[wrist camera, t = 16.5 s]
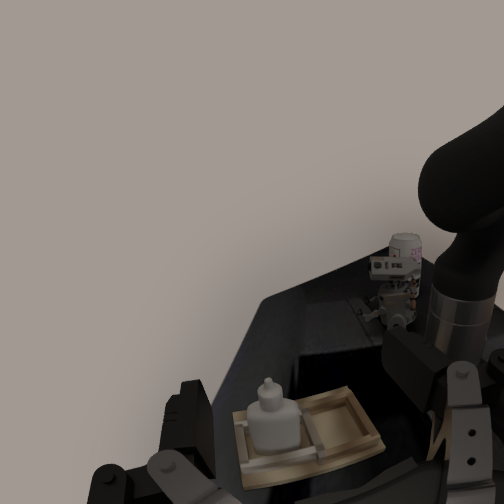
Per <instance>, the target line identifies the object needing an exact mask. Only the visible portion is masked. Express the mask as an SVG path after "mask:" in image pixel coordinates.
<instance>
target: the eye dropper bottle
mask: <svg viewBox="0 0 504 504" xmlns="http://www.w3.org/2000/svg"><path fill="white" fill-rule="evenodd" d="M257 392H258V398H259V401H256V402H254V403H252V404H251V405H249V406H248V408H247V423H248V427H249V431H250V435H251V439H252V443H253V447H254V450H255V452H256V453H258V454H261V455H266V456H274V455H279V454H284V453H288V452H292V451H296V450H299V449H300V447H301V435H300V415H299V406H298V404H297V402H295V401H293V400H290V399H286V398H283V394H282V387H281V386H280V385H279V384H277V383H273V381H272V379H271V378H266V379H265V381H264V384H263V385H261V386H260V387H259V388H258V391H257Z"/></svg>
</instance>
